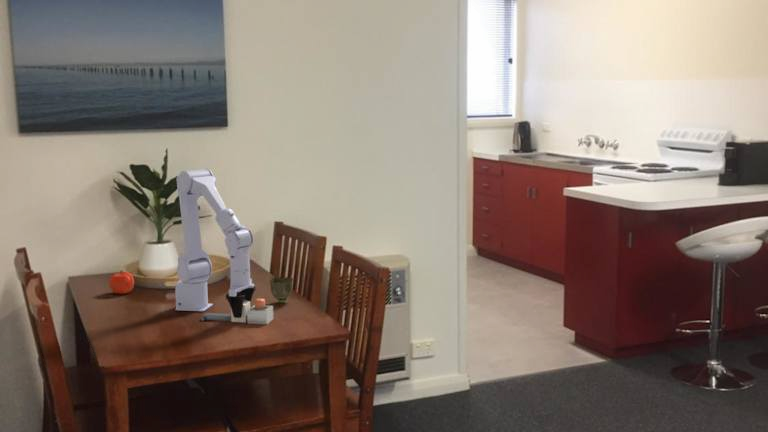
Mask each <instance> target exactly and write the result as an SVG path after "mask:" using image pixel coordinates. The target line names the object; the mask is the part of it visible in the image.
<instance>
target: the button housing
mask: <svg viewBox="0 0 768 432" xmlns="http://www.w3.org/2000/svg"><path fill="white" fill-rule="evenodd" d="M273 320H274V305H265V308H255V304H254V305H251V306H250V308H249V309H248V310H247V321H248V322H247V324H251V325H253V324H254V325H269V324H270V322H271V321H273Z"/></svg>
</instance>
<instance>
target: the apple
mask: <svg viewBox="0 0 768 432" xmlns="http://www.w3.org/2000/svg"><path fill="white" fill-rule="evenodd" d="M108 284H109V288H110V289H111V291H112V292H113V293H114V294H117V295H124V294H129V293H130V292H131V291H132V290H133V289H134V287H135V286H134V285H135V279H134V276H133V274H131V273H130V272H127V271H124V272H123V271H122V270H120V273H115V274H113V275H111V277H110V278H109V282H108Z"/></svg>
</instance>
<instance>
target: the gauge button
mask: <svg viewBox="0 0 768 432" xmlns="http://www.w3.org/2000/svg"><path fill="white" fill-rule="evenodd" d="M254 305H255V308H265V306H266V298H255V299H254Z"/></svg>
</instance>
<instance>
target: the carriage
mask: <svg viewBox="0 0 768 432" xmlns="http://www.w3.org/2000/svg"><path fill="white" fill-rule="evenodd" d="M249 308H251V305H250V301H247V300H244V302H243V309H242V316H241V318H234V316H233V312H232V309H231V308H230V314H231V321H230V322H231V323H248V322H247V319H246V316H247V310H248V309H249Z"/></svg>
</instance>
